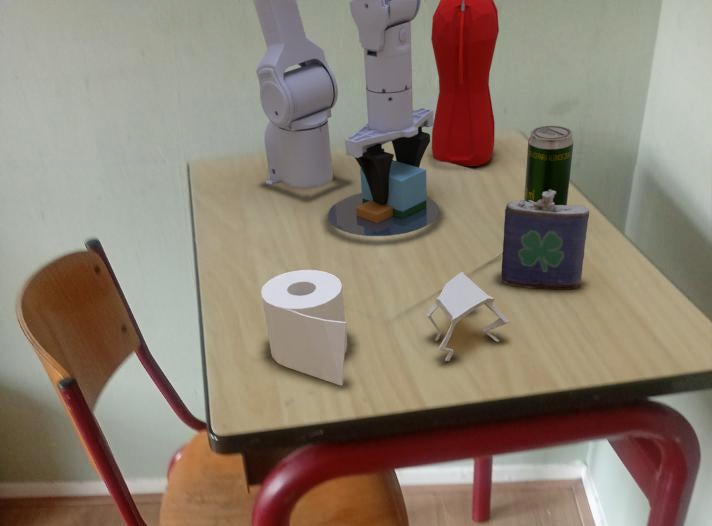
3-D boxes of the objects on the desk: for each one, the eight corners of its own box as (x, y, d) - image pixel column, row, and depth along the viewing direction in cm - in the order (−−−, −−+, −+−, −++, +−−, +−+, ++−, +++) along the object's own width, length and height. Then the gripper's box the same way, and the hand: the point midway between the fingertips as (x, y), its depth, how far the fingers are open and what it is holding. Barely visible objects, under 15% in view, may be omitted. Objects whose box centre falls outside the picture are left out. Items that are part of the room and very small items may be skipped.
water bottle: (427, 173, 120) (425, -25, 103) (436, 147, 128) (435, -41, 111) (490, 174, 119) (497, -27, 102) (495, 147, 126) (503, -43, 109)
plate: (305, 223, 109) (304, 216, 108) (381, 188, 117) (381, 181, 116) (386, 253, 101) (385, 246, 101) (461, 214, 109) (461, 206, 108)
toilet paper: (341, 385, 80) (335, 324, 76) (255, 356, 85) (244, 296, 80) (386, 347, 85) (382, 287, 80) (302, 321, 90) (294, 263, 85)
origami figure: (515, 357, 83) (518, 314, 79) (435, 366, 82) (434, 323, 79) (490, 301, 91) (492, 260, 88) (417, 309, 91) (416, 268, 87)
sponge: (362, 205, 110) (359, 168, 107) (386, 194, 113) (384, 157, 109) (403, 219, 106) (401, 181, 103) (426, 207, 109) (426, 169, 105)
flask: (581, 280, 94) (592, 188, 86) (578, 292, 92) (590, 199, 84) (502, 273, 96) (507, 183, 89) (498, 285, 94) (502, 194, 87)
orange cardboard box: (356, 216, 108) (355, 207, 107) (371, 208, 109) (371, 199, 108) (377, 223, 106) (377, 214, 105) (393, 215, 107) (392, 207, 106)
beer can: (572, 229, 104) (584, 131, 95) (544, 242, 101) (553, 143, 93) (541, 217, 107) (550, 121, 99) (513, 229, 104) (519, 132, 96)
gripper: (371, 107, 93) (378, 221, 103) (451, 76, 101) (450, 185, 110) (329, 97, 97) (339, 208, 106) (409, 68, 104) (412, 174, 114)
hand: (393, 196), depth 108 cm, fingers closed on sponge, 5 cm apart
